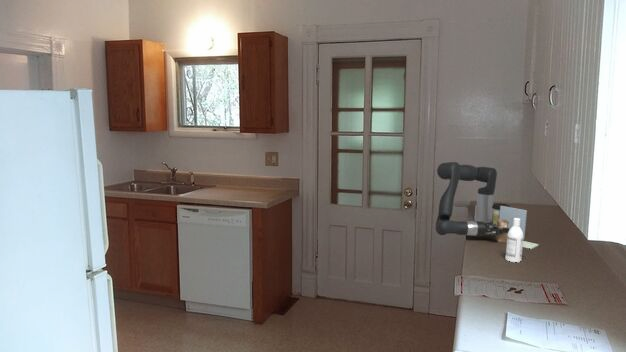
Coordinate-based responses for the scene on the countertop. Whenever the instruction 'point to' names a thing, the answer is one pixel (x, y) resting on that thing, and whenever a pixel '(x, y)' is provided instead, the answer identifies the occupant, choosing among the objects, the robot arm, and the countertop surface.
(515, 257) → the bath foam
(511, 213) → the screen
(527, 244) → the mat
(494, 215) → the coffee cup
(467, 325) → the countertop surface
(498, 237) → the brown wooden block
